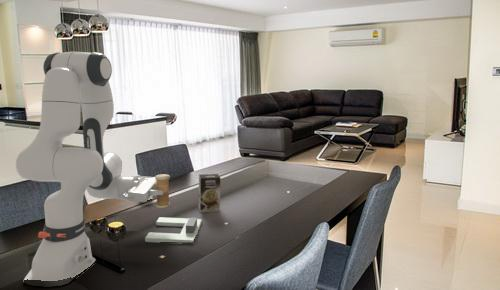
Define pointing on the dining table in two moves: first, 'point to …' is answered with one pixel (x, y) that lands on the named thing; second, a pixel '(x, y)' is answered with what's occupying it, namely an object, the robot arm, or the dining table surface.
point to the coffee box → (209, 193)
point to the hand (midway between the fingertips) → (165, 189)
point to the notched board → (186, 234)
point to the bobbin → (163, 185)
